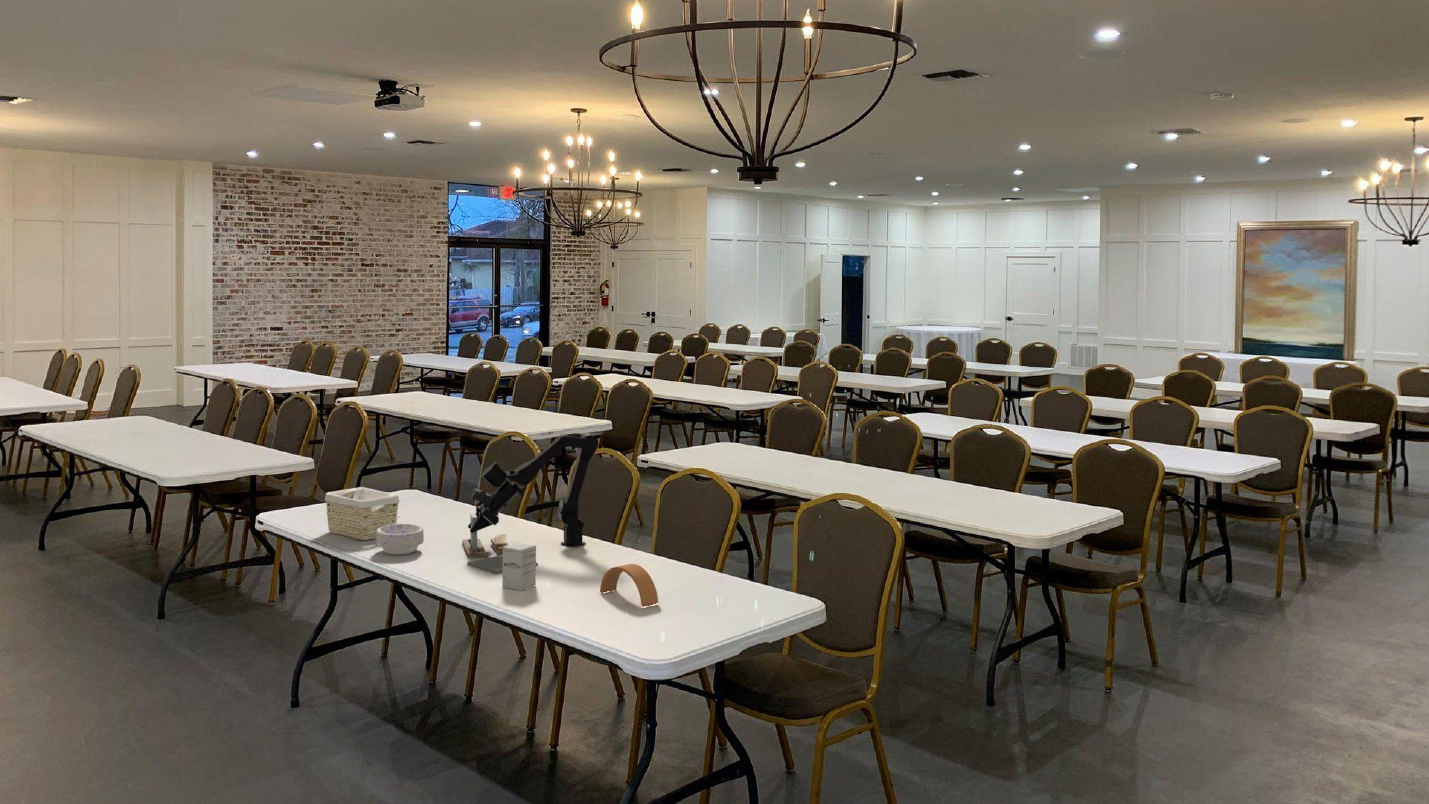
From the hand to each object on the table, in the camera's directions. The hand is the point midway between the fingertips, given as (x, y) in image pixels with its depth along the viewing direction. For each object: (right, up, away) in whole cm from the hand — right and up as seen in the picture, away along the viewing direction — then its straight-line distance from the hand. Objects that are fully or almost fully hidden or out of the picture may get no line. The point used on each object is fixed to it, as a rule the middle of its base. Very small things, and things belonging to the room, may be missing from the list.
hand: (469, 530), depth 366 cm
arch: (+58, -14, -51) cm, 79 cm away
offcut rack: (+5, -7, +3) cm, 9 cm away
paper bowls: (-23, -7, -2) cm, 24 cm away
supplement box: (+24, -12, -41) cm, 49 cm away
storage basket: (-43, -4, +22) cm, 49 cm away
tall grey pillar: (+1, -7, +1) cm, 7 cm away
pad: (+14, -9, -17) cm, 24 cm away
